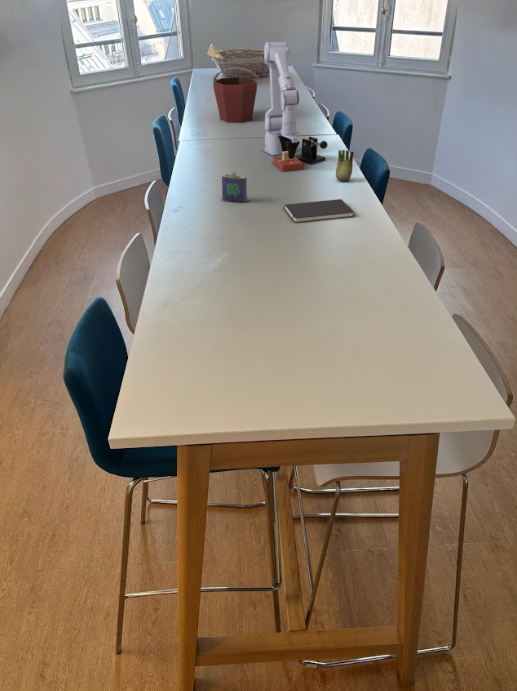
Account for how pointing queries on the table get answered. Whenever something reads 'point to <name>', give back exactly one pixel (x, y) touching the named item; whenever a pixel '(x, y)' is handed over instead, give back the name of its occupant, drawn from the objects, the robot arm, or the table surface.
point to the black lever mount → (309, 152)
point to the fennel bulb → (344, 165)
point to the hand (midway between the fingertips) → (288, 155)
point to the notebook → (318, 210)
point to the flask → (234, 188)
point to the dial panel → (287, 164)
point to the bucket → (235, 96)
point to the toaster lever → (319, 144)
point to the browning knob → (286, 156)
